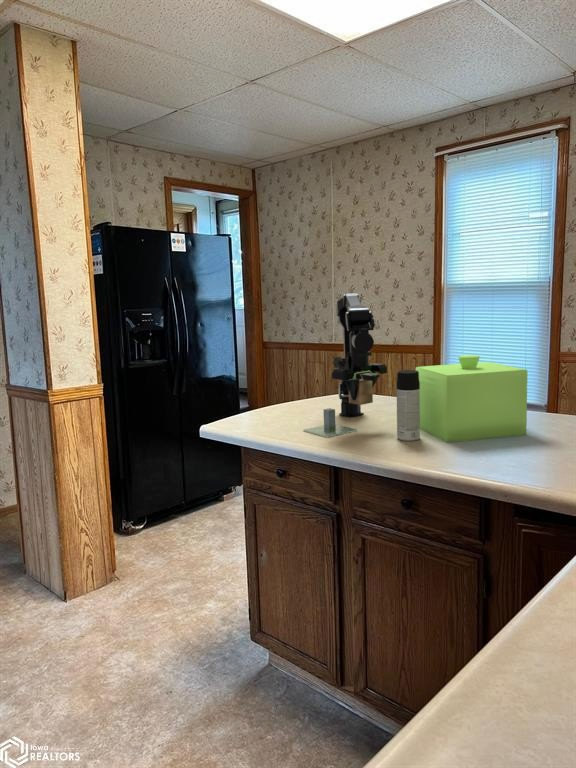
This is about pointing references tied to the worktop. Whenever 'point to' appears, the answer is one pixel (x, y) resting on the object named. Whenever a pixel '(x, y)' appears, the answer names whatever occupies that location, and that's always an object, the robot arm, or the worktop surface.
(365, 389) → the brown shipping carton
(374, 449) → the worktop surface
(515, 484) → the worktop surface
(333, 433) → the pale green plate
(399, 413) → the spray can
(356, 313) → the robot arm
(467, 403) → the canister
